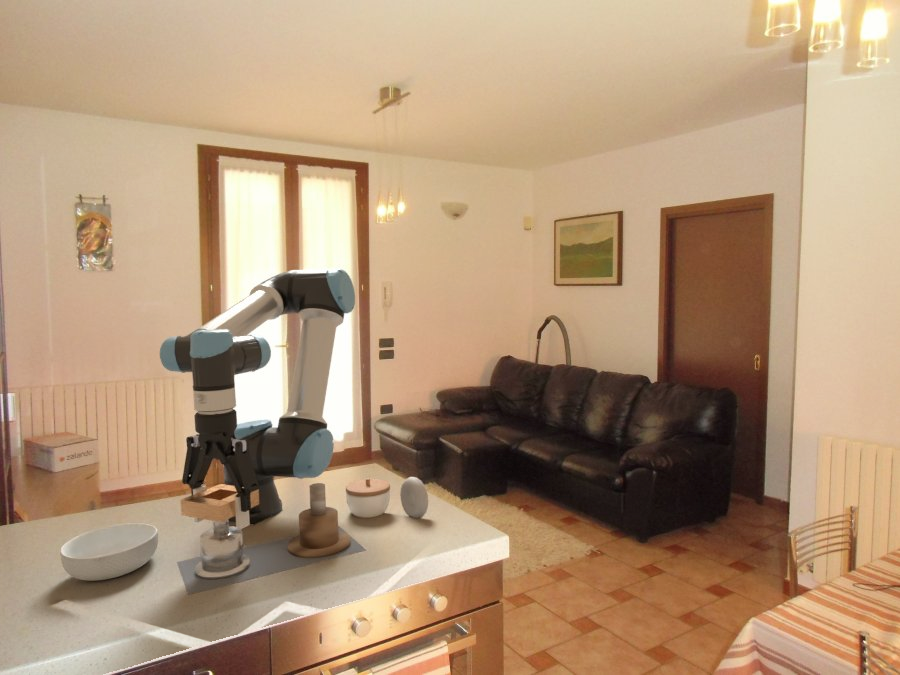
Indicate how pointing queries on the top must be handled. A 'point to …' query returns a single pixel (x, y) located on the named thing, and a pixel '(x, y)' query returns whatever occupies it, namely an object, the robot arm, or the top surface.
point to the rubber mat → (258, 563)
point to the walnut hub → (318, 529)
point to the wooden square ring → (214, 503)
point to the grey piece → (414, 497)
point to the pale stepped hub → (221, 552)
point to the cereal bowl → (109, 551)
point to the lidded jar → (368, 497)
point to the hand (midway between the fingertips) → (222, 523)
